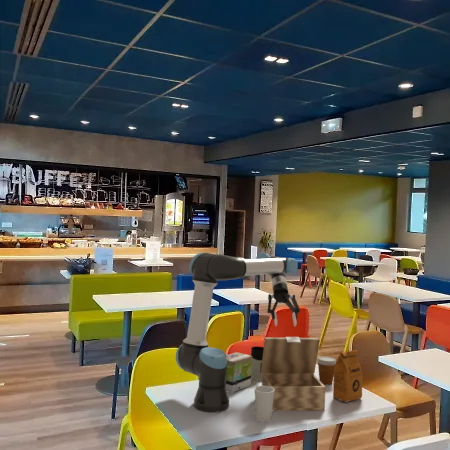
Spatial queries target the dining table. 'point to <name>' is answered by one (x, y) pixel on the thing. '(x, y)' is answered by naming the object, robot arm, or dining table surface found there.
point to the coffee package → (347, 377)
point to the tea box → (238, 371)
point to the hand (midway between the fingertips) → (285, 324)
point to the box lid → (289, 355)
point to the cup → (264, 403)
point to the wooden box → (295, 391)
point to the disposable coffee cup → (326, 369)
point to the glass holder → (256, 362)
